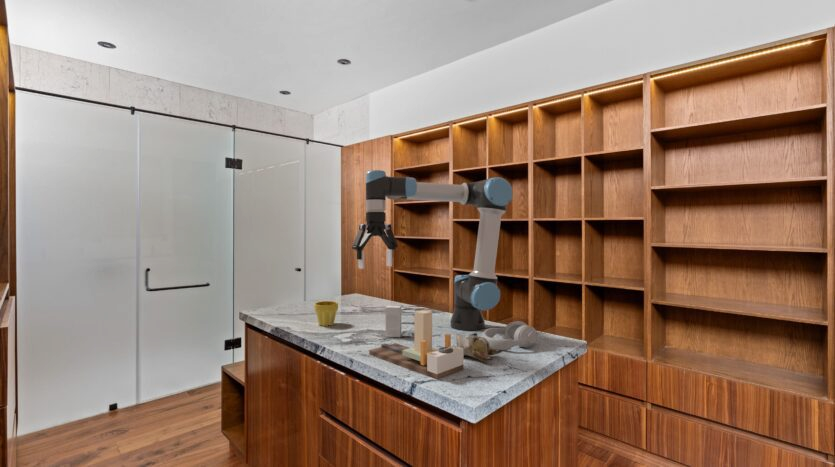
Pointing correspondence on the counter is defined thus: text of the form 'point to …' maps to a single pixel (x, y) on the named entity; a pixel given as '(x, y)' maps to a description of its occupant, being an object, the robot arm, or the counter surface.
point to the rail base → (407, 360)
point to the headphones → (511, 336)
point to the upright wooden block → (421, 334)
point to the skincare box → (393, 321)
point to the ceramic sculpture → (476, 347)
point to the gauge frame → (424, 351)
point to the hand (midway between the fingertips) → (375, 267)
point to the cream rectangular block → (444, 359)
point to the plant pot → (326, 312)
